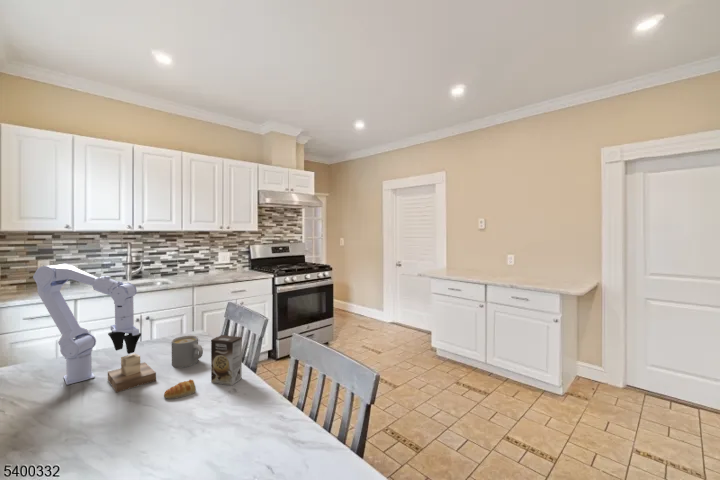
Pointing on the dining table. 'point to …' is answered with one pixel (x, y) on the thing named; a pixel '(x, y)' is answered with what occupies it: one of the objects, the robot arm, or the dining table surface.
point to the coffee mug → (185, 351)
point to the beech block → (130, 364)
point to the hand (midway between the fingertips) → (124, 351)
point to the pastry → (180, 390)
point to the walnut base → (131, 378)
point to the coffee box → (226, 359)
